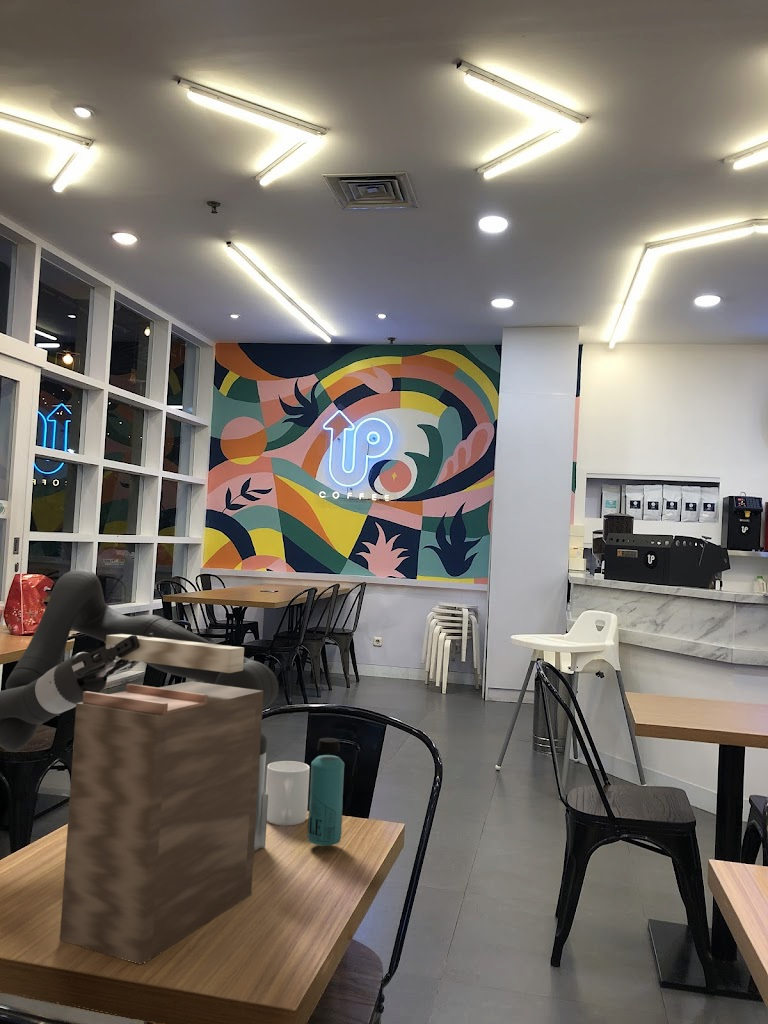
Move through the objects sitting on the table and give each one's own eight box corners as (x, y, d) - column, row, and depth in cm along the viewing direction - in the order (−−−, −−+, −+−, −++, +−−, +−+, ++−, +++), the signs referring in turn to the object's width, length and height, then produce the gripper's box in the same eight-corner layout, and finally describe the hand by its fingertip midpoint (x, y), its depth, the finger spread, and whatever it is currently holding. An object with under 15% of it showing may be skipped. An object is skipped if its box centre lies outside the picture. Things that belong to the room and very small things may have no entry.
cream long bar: (105, 657, 135) (106, 635, 135) (120, 655, 138) (121, 633, 138) (229, 673, 125) (231, 649, 125) (242, 670, 128) (244, 647, 128)
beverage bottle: (346, 845, 157) (352, 737, 158) (332, 856, 150) (338, 744, 151) (314, 839, 159) (320, 733, 160) (299, 850, 153) (306, 740, 154)
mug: (263, 832, 162) (266, 775, 162) (264, 812, 174) (267, 760, 174) (307, 832, 163) (310, 776, 163) (306, 813, 175) (309, 761, 175)
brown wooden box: (59, 939, 114) (77, 693, 116) (179, 876, 138) (192, 672, 139) (141, 965, 108) (158, 705, 110) (251, 894, 132) (263, 681, 134)
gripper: (30, 666, 134) (106, 620, 128) (94, 658, 147) (165, 616, 141) (45, 710, 132) (123, 665, 126) (108, 698, 145) (181, 657, 139)
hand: (145, 639), depth 134 cm, fingers closed on cream long bar, 3 cm apart
